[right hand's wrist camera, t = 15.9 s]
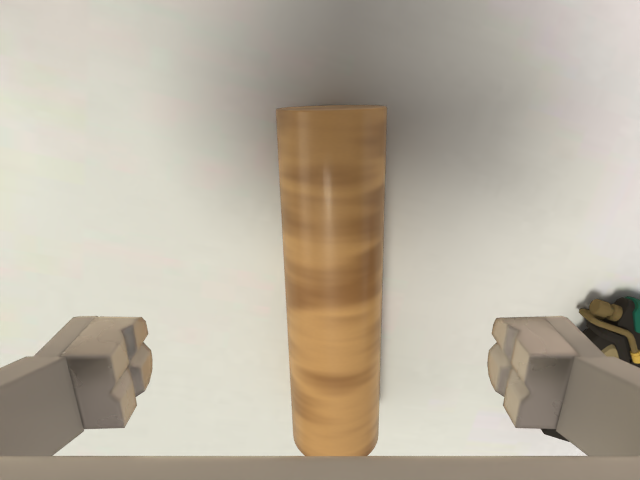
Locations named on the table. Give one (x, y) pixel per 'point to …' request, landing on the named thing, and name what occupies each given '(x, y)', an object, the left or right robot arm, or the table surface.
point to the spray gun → (612, 333)
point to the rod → (333, 271)
